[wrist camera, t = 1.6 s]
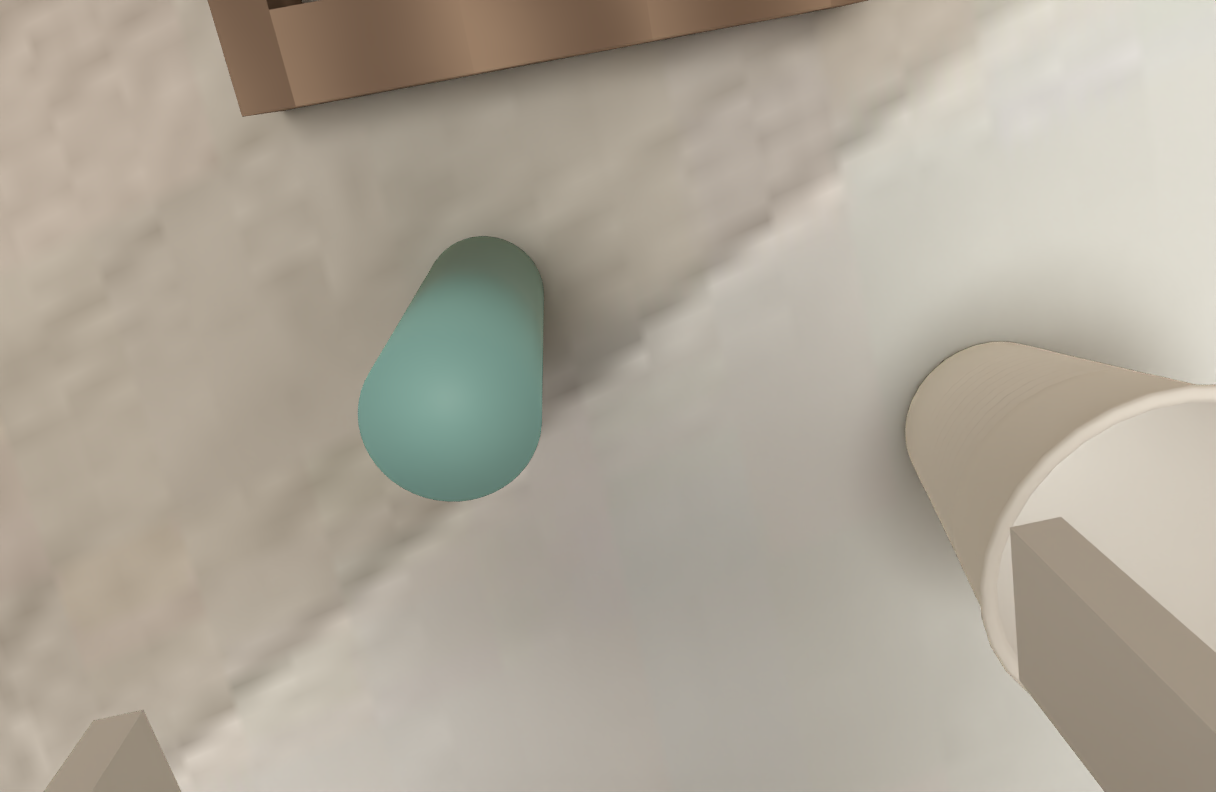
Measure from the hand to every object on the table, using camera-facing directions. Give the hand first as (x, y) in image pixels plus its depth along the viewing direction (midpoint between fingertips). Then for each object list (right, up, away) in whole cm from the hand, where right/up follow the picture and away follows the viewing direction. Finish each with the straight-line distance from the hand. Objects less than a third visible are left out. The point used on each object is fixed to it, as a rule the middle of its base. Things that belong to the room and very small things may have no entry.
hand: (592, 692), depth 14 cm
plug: (-4, +8, +18) cm, 20 cm away
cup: (+14, +4, +21) cm, 25 cm away
